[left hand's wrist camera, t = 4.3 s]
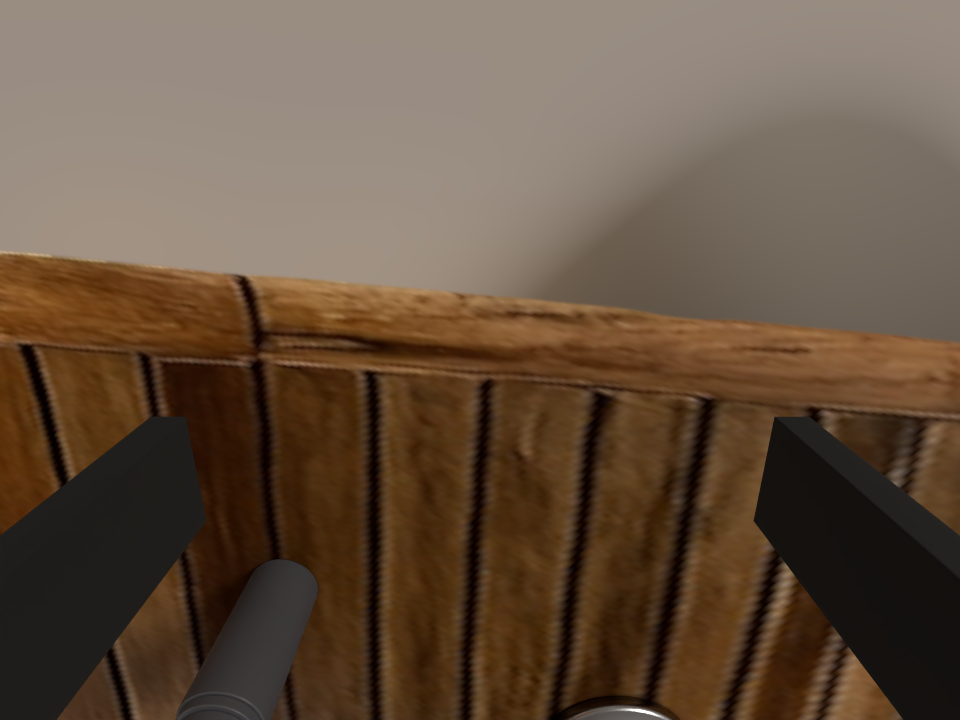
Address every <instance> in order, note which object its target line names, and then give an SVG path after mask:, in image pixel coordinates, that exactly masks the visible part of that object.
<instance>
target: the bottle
mask: <svg viewBox="0 0 960 720" xmlns="http://www.w3.org/2000/svg"><path fill="white" fill-rule="evenodd" d="M317 594H318V585H317V582H316V579H315V577H314V576H313V574H312V573H311V572H310V571H309V570H308V569H307V568H305V567H304V566H302V565H301V564H299V563H296V562H294V561H290V560H284V559H277V560H271V561H267V562H265V563H263V564H261V565H260V566H258V567H257V568H256V569H255V570H254V572H253V573H252V575H251V577H250V579H249V581H248V583H247V584H246V586H245V588H244V590H243V592H242V594H241V595H240V597H239V599H238V601H237V603H236V604H235V606H234V608H233V610H232V612H231V614H230V615H229V617H228V619H227V621H226V623H225V625H224V626H223V628H222V630H221V632H220V634H219V636H218V637H217V639H216V641H215V643H214V645H213V646H212V648H211V650H210V652H209V654H208V656H207V657H206V659H205V661H204V663H203V665H202V667H201V668H200V670H199V672H198V674H197V676H196V678H195V679H194V681H193V683H192V685H191V687H190V689H189V690H188V692H187V694H186V696H185V698H184V699H183V701H182V703H181V705H180V707H179V709H178V711H177V716H176V720H271V719H272V716H273V713H274V711H275V708H276V705H277V702H278V700H279V697H280V694H281V692H282V689H283V686H284V684H285V681H286V678H287V676H288V673H289V670H290V668H291V665H292V662H293V659H294V657H295V654H296V651H297V649H298V646H299V643H300V641H301V638H302V635H303V633H304V630H305V627H306V624H307V622H308V619H309V616H310V614H311V611H312V608H313V606H314V603H315V600H316V598H317Z"/></svg>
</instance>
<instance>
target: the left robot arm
mask: <svg viewBox="0 0 960 720" xmlns="http://www.w3.org/2000/svg"><path fill="white" fill-rule="evenodd" d="M205 522H206V517H205V512H204V507H203V502H202V497H201V492H200V487H199V482H198V477H197V472H196V467H195V462H194V457H193V452H192V447H191V442H190V437H189V432H188V427H187V422H186V417H150V418H149V419H148V420H146V421H145V422H144V423H143V424H141V425H140V426H139V427H138V428H136V429H135V430H134V431H132V432H131V433H130V434H129V435H127V436H126V437H125V438H124V439H122V440H121V441H120V442H118V443H117V444H116V445H115V446H113V447H112V448H111V449H110V450H108V451H107V452H106V453H105V454H103V455H102V456H101V457H99V458H98V459H97V460H96V461H94V462H93V463H92V464H91V465H89V466H88V467H87V468H85V469H84V470H83V471H82V472H80V473H79V474H78V475H77V476H75V477H74V478H73V479H71V480H70V481H69V482H68V483H66V484H65V485H64V486H63V487H61V488H60V489H59V490H58V491H56V492H55V493H54V494H52V495H51V496H50V497H49V498H47V499H46V500H45V501H44V502H42V503H41V504H40V505H38V506H37V507H36V508H35V509H33V510H32V511H31V512H30V513H28V514H27V515H26V516H25V517H23V518H22V519H21V520H19V521H18V522H17V523H16V524H14V525H13V526H12V527H11V528H9V529H8V530H7V531H5V532H4V533H3V534H2V535H0V720H57V718H58V717H59V716H60V714H61V713H62V712H63V710H64V709H65V708H66V706H67V705H68V704H69V702H70V701H71V700H72V698H73V697H74V696H75V694H76V693H77V692H78V690H79V689H80V688H81V686H82V685H83V684H84V682H85V681H86V680H87V678H88V677H89V676H90V674H91V673H92V672H93V670H94V669H95V668H96V667H97V665H98V664H99V663H100V661H101V660H102V659H103V657H104V656H105V655H106V653H107V652H108V651H109V649H110V648H111V647H112V645H113V644H114V643H115V641H116V640H117V639H118V637H119V636H120V635H121V633H122V632H123V631H124V629H125V628H126V627H127V625H128V624H129V623H130V621H131V620H132V619H133V617H134V616H135V615H136V613H137V612H138V611H139V609H140V608H141V607H142V605H143V604H144V603H145V602H146V600H147V599H148V598H149V596H150V595H151V594H152V592H153V591H154V590H155V588H156V587H157V586H158V584H159V583H160V582H161V580H162V579H163V578H164V576H165V575H166V574H167V572H168V571H169V570H170V568H171V567H172V566H173V564H174V563H175V562H176V560H177V559H178V558H179V556H180V555H181V554H182V552H183V551H184V550H185V548H186V547H187V546H188V544H189V543H190V542H191V541H192V539H193V538H194V537H195V535H196V534H197V533H198V531H199V530H200V529H201V527H202V526H203V525H204V523H205ZM754 522H755V523H756V525H757V526H758V527H759V529H760V530H761V531H762V533H763V534H764V535H765V537H766V538H767V539H768V541H769V542H770V543H771V544H772V546H773V547H774V548H775V550H776V551H777V552H778V554H779V555H780V556H781V558H782V559H783V560H784V562H785V563H786V564H787V566H788V567H789V568H790V570H791V571H792V572H793V574H794V575H795V576H796V578H797V579H798V580H799V582H800V583H801V584H802V586H803V587H804V588H805V590H806V591H807V592H808V594H809V595H810V596H811V598H812V599H813V600H814V602H815V603H816V604H817V605H818V607H819V608H820V609H821V611H822V612H823V613H824V615H825V616H826V617H827V619H828V620H829V621H830V623H831V624H832V625H833V627H834V628H835V629H836V631H837V632H838V633H839V635H840V636H841V637H842V639H843V640H844V641H845V643H846V644H847V645H848V647H849V648H850V649H851V651H852V652H853V653H854V655H855V656H856V657H857V659H858V660H859V661H860V663H861V664H862V665H863V667H864V668H865V669H866V670H867V672H868V673H869V674H870V676H871V677H872V678H873V680H874V681H875V682H876V684H877V685H878V686H879V688H880V689H881V690H882V692H883V693H884V694H885V696H886V697H887V698H888V700H889V701H890V702H891V704H892V705H893V706H894V708H895V709H896V710H897V712H898V713H899V714H900V716H901V717H902V718H903V720H960V535H958V534H957V533H956V532H955V531H953V530H952V529H951V528H949V527H948V526H947V525H946V524H944V523H943V522H942V521H941V520H939V519H938V518H937V517H935V516H934V515H933V514H932V513H930V512H929V511H928V510H927V509H925V508H924V507H923V506H922V505H920V504H919V503H918V502H916V501H915V500H914V499H913V498H911V497H910V496H909V495H908V494H906V493H905V492H904V491H902V490H901V489H900V488H899V487H897V486H896V485H895V484H894V483H892V482H891V481H890V480H889V479H887V478H886V477H885V476H883V475H882V474H881V473H880V472H878V471H877V470H876V469H875V468H873V467H872V466H871V465H869V464H868V463H867V462H866V461H864V460H863V459H862V458H861V457H859V456H858V455H857V454H855V453H854V452H853V451H852V450H850V449H849V448H848V447H847V446H845V445H844V444H843V443H842V442H840V441H839V440H838V439H836V438H835V437H834V436H833V435H831V434H830V433H829V432H828V431H826V430H825V429H824V428H822V427H821V426H820V425H819V424H817V423H816V422H815V421H814V420H812V419H811V418H810V417H774V422H773V427H772V432H771V437H770V442H769V447H768V452H767V457H766V462H765V467H764V472H763V477H762V482H761V487H760V492H759V497H758V502H757V507H756V512H755V517H754ZM554 720H680V719H679V718H678V717H677V716H676V715H675V714H674V713H673V712H671V711H670V710H668V709H667V708H665V707H663V706H661V705H659V704H657V703H654V702H652V701H649V700H645V699H641V698H635V697H623V696H617V697H604V698H599V699H594V700H590V701H587V702H584V703H581V704H579V705H576V706H574V707H572V708H570V709H568V710H567V711H565V712H563V713H562V714H561V715H559V716H558V717H557V718H555V719H554Z"/></svg>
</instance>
